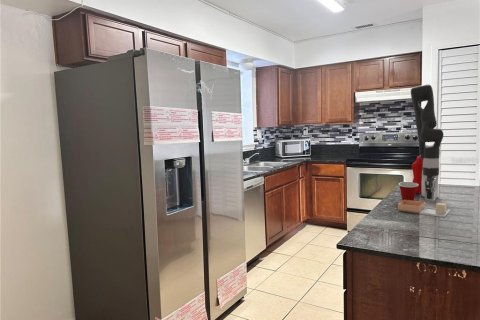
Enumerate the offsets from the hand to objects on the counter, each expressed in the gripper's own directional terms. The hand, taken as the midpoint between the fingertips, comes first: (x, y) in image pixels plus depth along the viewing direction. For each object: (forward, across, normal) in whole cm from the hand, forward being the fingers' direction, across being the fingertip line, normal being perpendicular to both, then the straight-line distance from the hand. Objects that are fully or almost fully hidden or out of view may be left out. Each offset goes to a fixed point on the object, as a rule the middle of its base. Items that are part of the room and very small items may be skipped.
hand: (430, 197), depth 177 cm
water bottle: (+9, -50, -18) cm, 53 cm away
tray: (+8, 0, +2) cm, 8 cm away
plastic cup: (+9, -15, -15) cm, 23 cm away
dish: (+8, 0, -9) cm, 12 cm away
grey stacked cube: (+1, 0, 0) cm, 1 cm away
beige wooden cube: (+8, 0, +5) cm, 9 cm away
